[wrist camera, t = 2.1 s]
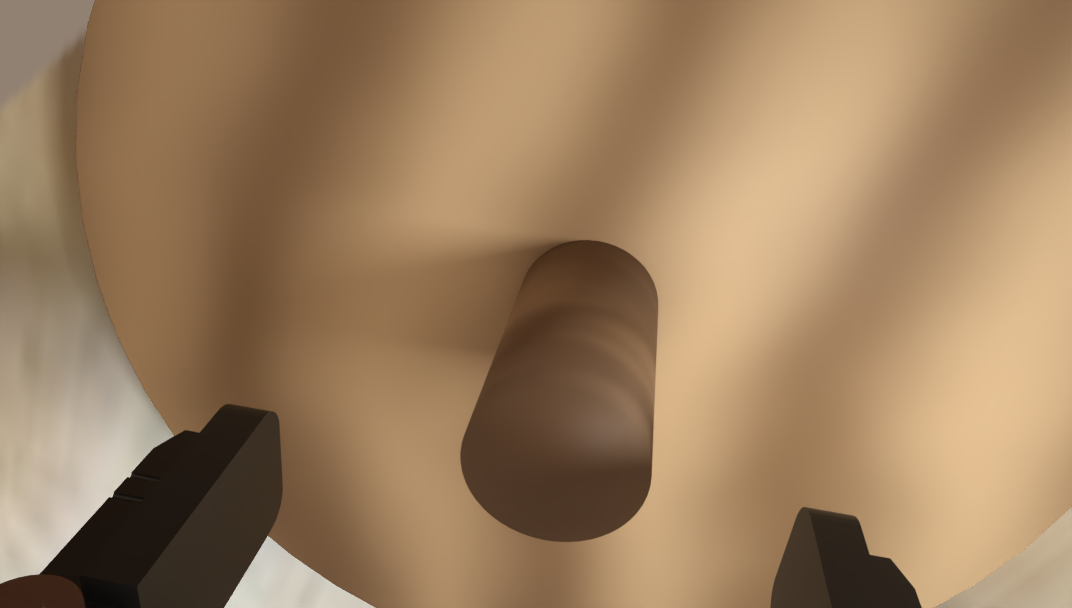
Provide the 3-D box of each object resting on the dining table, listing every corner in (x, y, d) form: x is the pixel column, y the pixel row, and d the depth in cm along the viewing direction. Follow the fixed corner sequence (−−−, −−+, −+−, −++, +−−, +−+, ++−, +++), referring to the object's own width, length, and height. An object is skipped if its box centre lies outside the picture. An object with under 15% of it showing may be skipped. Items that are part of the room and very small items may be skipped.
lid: (1484, -298, 13) (2285, -479, 6) (944, 711, 25) (1037, 998, 18) (13, -428, 15) (-476, -659, 9) (168, 557, 27) (11, 766, 20)
